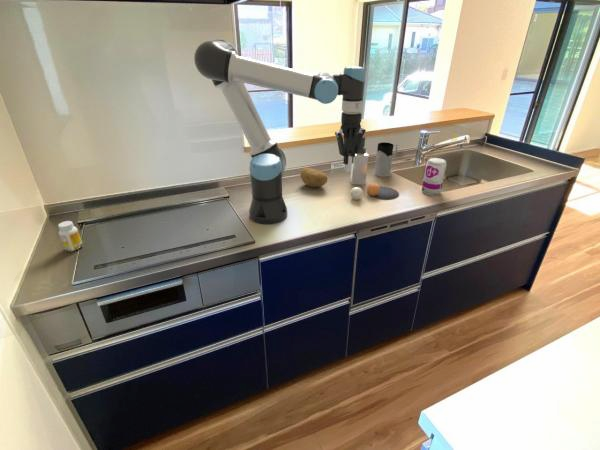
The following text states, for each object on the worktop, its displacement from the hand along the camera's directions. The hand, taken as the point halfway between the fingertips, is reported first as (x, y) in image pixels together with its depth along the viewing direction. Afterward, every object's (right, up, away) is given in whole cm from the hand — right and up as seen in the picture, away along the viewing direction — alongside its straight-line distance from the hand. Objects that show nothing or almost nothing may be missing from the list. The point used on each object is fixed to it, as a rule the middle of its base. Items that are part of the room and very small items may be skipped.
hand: (347, 171), depth 141 cm
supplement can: (+40, -7, +16) cm, 43 cm away
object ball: (+13, -6, +11) cm, 18 cm away
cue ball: (+5, -8, +8) cm, 12 cm away
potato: (-13, -4, +22) cm, 26 cm away
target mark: (+18, -8, +15) cm, 24 cm away
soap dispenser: (+9, -1, +27) cm, 28 cm away
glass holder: (+25, +5, +37) cm, 45 cm away
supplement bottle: (-97, -30, -23) cm, 104 cm away
